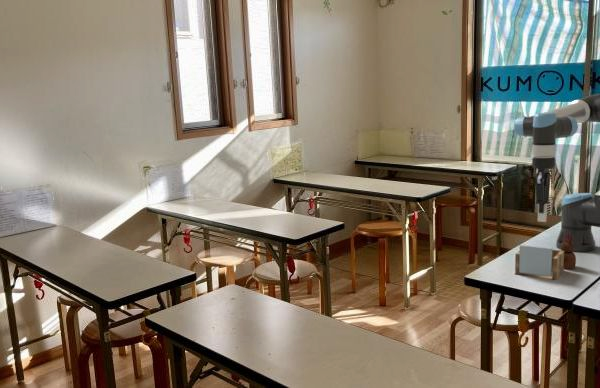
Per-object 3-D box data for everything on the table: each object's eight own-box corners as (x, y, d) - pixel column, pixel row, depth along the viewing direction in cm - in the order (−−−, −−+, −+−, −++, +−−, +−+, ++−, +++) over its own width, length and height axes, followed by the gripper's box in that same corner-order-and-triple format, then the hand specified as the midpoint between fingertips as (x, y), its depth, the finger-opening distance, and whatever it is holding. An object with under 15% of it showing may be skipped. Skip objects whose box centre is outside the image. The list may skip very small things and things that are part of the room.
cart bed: (524, 269, 225) (524, 246, 223) (563, 274, 217) (564, 250, 215) (514, 278, 215) (514, 254, 213) (555, 284, 207) (556, 259, 205)
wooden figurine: (577, 273, 217) (578, 234, 214) (560, 273, 218) (561, 234, 215) (572, 268, 223) (574, 229, 221) (556, 268, 224) (557, 229, 222)
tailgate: (520, 271, 214) (520, 244, 213) (551, 275, 208) (552, 248, 206) (519, 272, 213) (519, 245, 212) (550, 276, 207) (551, 249, 205)
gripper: (537, 154, 218) (536, 217, 221) (527, 158, 207) (526, 223, 211) (559, 154, 213) (557, 218, 217) (550, 158, 203) (548, 225, 207)
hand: (542, 221), depth 214 cm, fingers closed
